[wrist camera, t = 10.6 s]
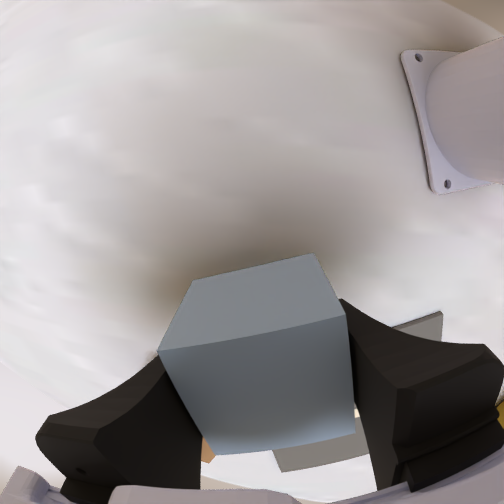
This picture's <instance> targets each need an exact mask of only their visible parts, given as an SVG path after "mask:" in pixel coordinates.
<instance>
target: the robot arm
mask: <svg viewBox="0 0 504 504" xmlns="http://www.w3.org/2000/svg"><path fill="white" fill-rule="evenodd" d="M415 56H417V57H418V58H419V59H420V62H418V61H417V60H416V59H415ZM401 61H402V64H403V67H404V70H405V73H406V76H407V80H408V83H409V86H410V90H411V93H412V97H413V101H414V105H415V108H416V112H417V117H418V121H419V125H420V130H421V134H422V139H423V144H424V149H425V155H426V161H427V167H428V173H429V180H430V187H431V190H432V191H433V192H434V193H435V194H438V195H442V194H447V193H452V192H456V191H461V190H466V189H470V188H475V187H480V186H485V185H489V184H494V183H499V184H504V37H501V38H498V39H496V40H493V41H490V42H488V43H485V44H483V45H480V46H477V47H475V48H473V49H470V50H468V51H465V52H463V53H462V52H451V51H437V50H405V51H404V52H402V53H401ZM445 180H447V187H446V188H445V186H444V182H445ZM338 300H339V302H340V304H341V306H342V308H343V310H344V312H345V314H346V320H347V328H348V337H349V347H350V357H351V368H352V380H353V394H354V402H355V405H356V407H357V410H358V413H359V415H360V419H361V423H362V426H363V430H364V434H365V437H366V441H367V445H368V449H369V453H370V458H371V462H372V467H373V471H374V476H375V481H376V486H377V491H376V492H372V493H369V494H365V495H362V496H358V497H354V498H350V499H346V500H341V501H337V502H332V503H327V504H504V429H503V427H502V426H501V424H500V423H499V421H498V420H497V419H498V418H499V416H500V414H499V411H498V410H497V408H496V407H495V406H494V405H495V403H496V400H497V397H498V395H499V392H500V389H501V386H502V383H503V378H504V365H503V364H502V362H501V361H500V360H499V359H498V358H497V356H496V355H495V354H494V353H493V352H492V351H491V350H490V349H489V348H488V347H487V346H486V345H485V344H459V343H449V342H441V341H435V340H430V339H426V338H421V337H417V336H414V335H410V334H407V333H405V332H402V331H399V330H396V329H394V328H391V327H389V326H387V325H385V324H383V323H381V322H379V321H377V320H375V319H373V318H371V317H370V316H368V315H366V314H364V313H363V312H361V311H360V310H358V309H357V308H355V307H354V306H352V305H351V304H349V303H348V302H346V301H345V300H343V299H338ZM35 439H36V443H37V446H38V447H39V449H40V451H41V452H42V453H43V454H44V455H45V457H46V458H47V459H48V460H49V461H50V462H51V463H52V464H53V465H54V466H55V467H56V468H57V469H58V470H59V471H60V472H61V473H62V474H63V475H65V477H66V480H65V482H64V484H63V486H62V488H61V489H59V488H57V487H54V486H50V485H49V483H48V482H47V481H46V480H45V479H44V478H43V477H42V476H40V475H39V474H37V473H36V472H34V471H32V470H29V469H26V468H24V467H21V466H18V467H17V468H16V470H15V472H14V473H13V475H12V477H11V478H10V480H9V482H8V483H7V485H6V487H5V489H4V490H3V492H2V494H1V496H0V504H301V503H300V502H299V501H297V500H296V499H294V498H293V497H292V496H290V495H288V494H285V493H280V492H275V491H271V490H266V489H225V490H224V489H220V490H200V473H201V453H202V441H203V435H202V434H201V432H200V430H199V429H198V427H197V425H196V424H195V422H194V420H193V419H192V417H191V415H190V413H189V412H188V410H187V408H186V406H185V405H184V403H183V401H182V399H181V397H180V396H179V394H178V392H177V390H176V388H175V386H174V384H173V382H172V381H171V379H170V377H169V375H168V373H167V371H166V369H165V367H164V365H163V363H162V361H161V359H160V357H159V355H158V356H157V357H155V358H154V359H153V360H152V361H151V362H150V363H148V364H147V365H146V366H145V367H144V368H143V369H141V370H140V371H139V372H138V373H136V374H135V375H134V376H133V377H131V378H130V379H128V380H127V381H125V382H124V383H122V384H121V385H119V386H118V387H116V388H115V389H113V390H111V391H109V392H107V393H106V394H104V395H102V396H100V397H98V398H96V399H94V400H92V401H90V402H88V403H85V404H83V405H80V406H78V407H75V408H72V409H69V410H66V411H63V412H60V413H57V414H53V415H50V416H48V418H47V419H46V421H45V422H44V424H43V425H42V427H41V428H40V430H39V431H38V433H37V434H36V437H35Z"/></svg>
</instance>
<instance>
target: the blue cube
mask: <svg viewBox="0 0 504 504" xmlns="http://www.w3.org/2000/svg"><path fill="white" fill-rule="evenodd" d="M157 353H158V355H159V357H160V359H161V361H162V363H163V365H164V367H165V369H166V371H167V373H168V375H169V377H170V379H171V381H172V382H173V384H174V386H175V388H176V390H177V392H178V394H179V396H180V397H181V399H182V401H183V403H184V405H185V406H186V408H187V410H188V412H189V413H190V415H191V417H192V419H193V420H194V422H195V424H196V425H197V427H198V429H199V430H200V432H201V434H202V435H203V437H204V439H205V440H206V442H207V443H208V445H209V447H210V448H211V450H212V451H213V453H214V454H215V455H228V454H240V453H251V452H259V451H267V450H275V449H281V448H288V447H294V446H299V445H305V444H310V443H315V442H320V441H324V440H329V439H333V438H337V437H341V436H345V435H349V434H353V433H355V411H354V394H353V380H352V368H351V357H350V347H349V337H348V328H347V320H346V314H345V312H344V310H343V308H342V306H341V304H340V302H339V300H338V298H337V296H336V294H335V292H334V290H333V288H332V286H331V284H330V283H329V281H328V279H327V277H326V275H325V273H324V271H323V269H322V267H321V266H320V264H319V262H318V260H317V258H316V256H315V254H314V253H310V254H306V255H301V256H297V257H293V258H289V259H284V260H280V261H276V262H271V263H267V264H263V265H259V266H254V267H250V268H245V269H241V270H237V271H232V272H228V273H223V274H219V275H215V276H210V277H206V278H201V279H197V280H193V281H192V283H191V285H190V287H189V289H188V291H187V293H186V295H185V296H184V298H183V300H182V302H181V304H180V306H179V308H178V310H177V312H176V314H175V316H174V318H173V320H172V322H171V324H170V326H169V328H168V329H167V331H166V333H165V335H164V337H163V339H162V341H161V343H160V345H159V347H158V349H157Z"/></svg>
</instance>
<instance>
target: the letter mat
mask: <svg viewBox="0 0 504 504" xmlns="http://www.w3.org/2000/svg"><path fill="white" fill-rule="evenodd" d="M442 325H443V313H442V312H441V311H440V312H437V313H434V314H432V315H429V316H426V317H423V318H420V319H417V320H414V321H411V322H408V323H405V324H402V325H399V326H396V327H393V328H394V329H396V330H399V331H402V332H405V333H407V334H410V335H414V336H417V337H421V338H426V339H430V340H435V341H441V337H442ZM354 411H355V433H353V434H349V435H345V436H341V437H337V438H333V439H329V440H324V441H320V442H315V443H310V444H305V445H299V446H294V447H288V448H281V449H275V450H272V451H273V453H274V456H275V458H276V460H277V463H278V465H279V468H280V470H281V472H289V471H295V470H301V469H306V468H312V467H317V466H322V465H326V464H331V463H335V462H339V461H344V460H348V459H351V458H355V457H359V456H362V455H366V454H369V449H368V445H367V441H366V437H365V434H364V430H363V426H362V423H361V419H360V415H359V413H358V410H357V407H356V405H355V402H354Z"/></svg>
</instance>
